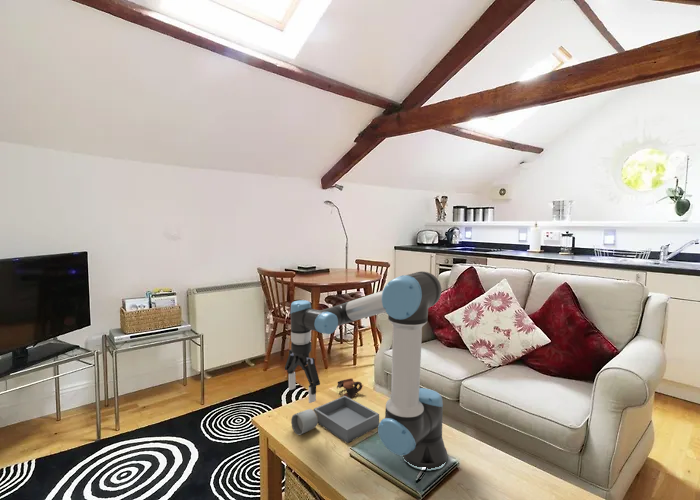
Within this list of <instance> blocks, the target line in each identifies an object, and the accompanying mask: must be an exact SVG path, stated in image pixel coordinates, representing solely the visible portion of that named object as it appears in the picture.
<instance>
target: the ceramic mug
mask: <svg viewBox="0 0 700 500" xmlns="http://www.w3.org/2000/svg"><path fill="white" fill-rule="evenodd" d="M290 421H291V428H292V429H293V432H294V433H295V434H296V435H298V436H301V435H303V434H305V433H307V432H309V431H311V430H313V429H315V428H316V427H317V426H318V425H319V424H318V417H317V414H316V412H315V411H314V409H312V408H308V409H305V410H302V411H300V412H297V413H294V414H293V415H292V417H291V419H290Z"/></svg>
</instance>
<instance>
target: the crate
mask: <svg viewBox="0 0 700 500" xmlns="http://www.w3.org/2000/svg"><path fill="white" fill-rule="evenodd" d="M313 410H314V411H315V412H316V414H317V417H318V424H317V425H319V426H321V427H322V428H324V429H325V430H327V431H328V432H330V433H332V434H333V435H334V436H336V437H337V438H338V439H340V440H342V442H344V443H346V444H348V443H350V442H352V441H354V440H356V439H358V438H360V437H362V436H364V435H366V434H367V433H369V432H371V431H373V430H375V429H378V426H379V423H380V413H378V412H376V411H375V410H374V409H373V410H372V409H370V408H369V407H367V406H365V405H363V404H362V403H360V402H357V401H355V400H353V399H352V398H348V397H347V396H343V395H342V396H341V397H338V398H336V399H334V400H332V401H329V402H326V403H324V404H321V405H319V406H317V407H315V408H313Z"/></svg>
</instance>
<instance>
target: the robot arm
mask: <svg viewBox="0 0 700 500" xmlns="http://www.w3.org/2000/svg"><path fill="white" fill-rule="evenodd" d="M441 296H442V284H441V282H440V280H439V279H438V278H437V276H436V275H434V274H433V273H431V272H428V271H416V272H414V273H410V274H409V273H408V274H404V275H399V276H396V277H395V278H393V279H391V280H390V281H388V282H387V283H386V285H385V286H384V287H383V289H382V290H379V291H377V292H374V293H372V294H369V295H365V296H363V297H359V298H356V299H352V300H350V301H347V302H344V303H340V304H338V305H334V306H331V307H327V308H324V309H321V310H320V309H314V308H312V304H311V301H309V300H305V299H303V300H302V299H301V300H295V301H292V302H291V304H290V313H289V315H290V341H291V343H290V345H291V346H290V349H289V350H288V356H287V359H286V362H285V366H284V370H285V371H287V374H288V377H287V378H288V391H291V390H295V389H296V387H297V386H296V369H297V367H298V366H299V367H301V369H302V370H303V371H304V374H305V376H306V378H307V381H308V383H309V385H308V403H309V404H311V403H314V402H316V401H317V395H316V394H317V387H318V386H320V385H321V382H320V377H319V374H318V371H317V366H316V363H315V362H316V361H315V360H316V358H314V357H310V353H311V352H312V342H311V340H312V331H314V332H318V333H320V334H326V335H331V334H333V333H334V332H335V331H336V330H337V328H338V327H339V326H342V325H345V324H348V323H349V324H350V323H351V322H355V321H358V320H362V319H366V318H369V317H373V316H376V315H377V316H378V315H380V314H384V313H386V314H387V315H388V317H387V320H388V321H389V322H390V323H391V324H392V352H391V353H392V354H391V383H390V384H391V385H390V389H391V390H390V398H389V399H388V400H387V401H386V403H385V413H384V415H385V416H384V418H382V420H381V419H380V421H379V426H378V427H377V432H378V436H379V439H380V441H381V443H382V444H383V446H384V447H385V448H386V449H387V450H388V451H390V452H391V453H393V454H395V455H397V456H402V455H403V457H404V459H405V460H406V461H407V462H409V463H410V464H412V465H414V466H417V467H426V468H428V469H431V468H435V467H439V466H441V465H442V464H444V463H445V462H446V460H447V461H448V451H447V448H446V447H445V442H444V439H443V417H444V416H443V412H444V411H443V410H444V409H443V408H444V404H443V397H442V395H441V394H440V393H439V392H438V391H436V390H433V389H429V388H425V387H424V388H423V387H421V386H420V385H421V383H420V382H421V362H422V361H421V360H422V359H421V358H422V339H423V338H422V337H423V336H422V335H423V327H424V326H425V325H426V324H427V323H428V319H429V318H428V316H429V309H430V308H431V307H434V305H436V304H437V303H438V302H439V300H440V299H441Z"/></svg>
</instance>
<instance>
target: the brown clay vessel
mask: <svg viewBox="0 0 700 500" xmlns="http://www.w3.org/2000/svg"><path fill="white" fill-rule="evenodd" d="M338 388H339V389H341V388H343V389H345V391H346V392H345V393H343V394H342V397H343V396H347V397H348V398H350V399H352V398H355V397H356V395H357V394H359V392H360V391H362V389H363V384H362V382H361V381H354V379H353V378H347V379H342V380H338V381H337V386H336V389H338Z"/></svg>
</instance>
